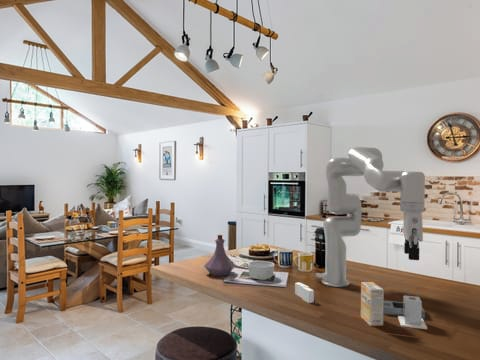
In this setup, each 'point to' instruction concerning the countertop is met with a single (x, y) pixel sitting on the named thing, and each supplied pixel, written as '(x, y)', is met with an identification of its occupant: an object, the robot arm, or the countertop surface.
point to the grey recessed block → (396, 309)
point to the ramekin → (261, 269)
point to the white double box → (304, 292)
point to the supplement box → (372, 303)
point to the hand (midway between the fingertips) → (411, 256)
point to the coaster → (402, 323)
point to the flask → (219, 260)
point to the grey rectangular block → (412, 310)
